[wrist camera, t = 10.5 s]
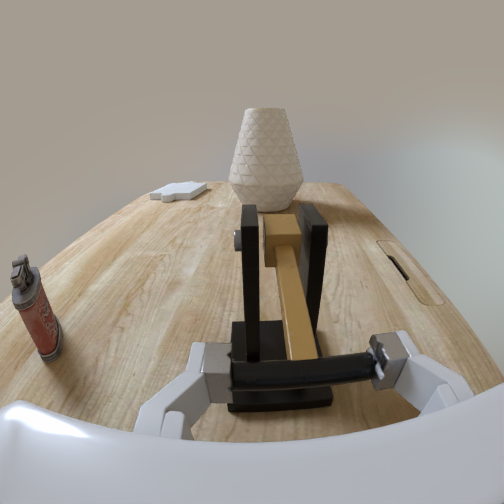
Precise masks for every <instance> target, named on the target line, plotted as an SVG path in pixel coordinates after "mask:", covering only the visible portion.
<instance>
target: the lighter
mask: <svg viewBox="0 0 504 504" xmlns="http://www.w3.org/2000/svg"><path fill="white" fill-rule="evenodd" d="M12 266H13V272H12V275H11V279H10V280H11V282H12V285H13V292H12V302H13V304H14V306H15V308H16V310H18V311H19V313H20V315H21V317H22V319H23V321H24V323H25V325H26V327H27V329H28V331H29V333H30V335H31V337H32V339H33V341H34V343H35V344H36V346H37V349H38V353H39V355H40V356H41V358H42V360H43V361H45V362H51V361H54V360H55V359H57V358H58V357H59V356H60V354H61V348H62V331H61V326H60V324H59V321H58V319H57V317H56V315H55V314H54V313H53V311H52V309H51V306H50V304H49V301H48V299H47V296H46V294H45V291H44V289H43V286H42V283H41V277H40V273H39V270H38V268H37V267H31V268H30V266H29V261H28V258H27V254H24V255H21V256H19V257H18V259H17V260H15V261H13V262H12Z"/></svg>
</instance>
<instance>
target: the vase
mask: <svg viewBox="0 0 504 504" xmlns="http://www.w3.org/2000/svg"><path fill="white" fill-rule="evenodd" d="M229 183H230V185H231V186H232V188H233V190H234V191H235V193H236V195H237V196H238V198H239V200H240V202H241V203H242V205H249V204H256V205H257V212H277V211H282V210H285V209H287V208H288V207H289V205H290V204H291V202H292V200H293V199H294V197H295V195H296V193H297V192H298V190H299V188H300V186H301V185H302V183H303V174H302V171H301V167H300V163H299V159H298V156H297V151H296V148H295V144H294V141H293V137H292V133H291V130H290V126H289V123H288V119H287V116H286V113H285V110H284V109H278V108H256V109H246V110H245V114H244V118H243V121H242V125H241V129H240V133H239V137H238V141H237V146H236V149H235V153H234V157H233V161H232V166H231V170H230V174H229Z"/></svg>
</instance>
